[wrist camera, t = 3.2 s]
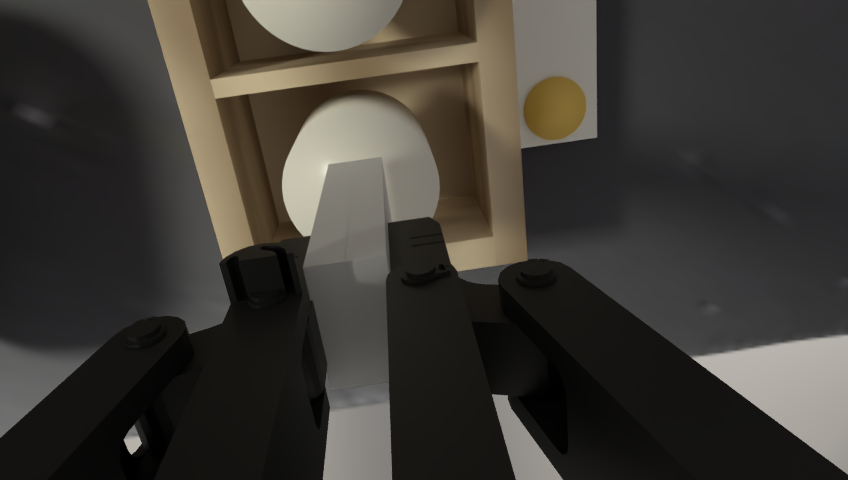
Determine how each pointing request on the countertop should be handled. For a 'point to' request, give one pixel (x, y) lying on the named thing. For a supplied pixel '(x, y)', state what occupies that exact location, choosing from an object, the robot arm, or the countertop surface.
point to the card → (556, 70)
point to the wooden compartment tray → (343, 71)
